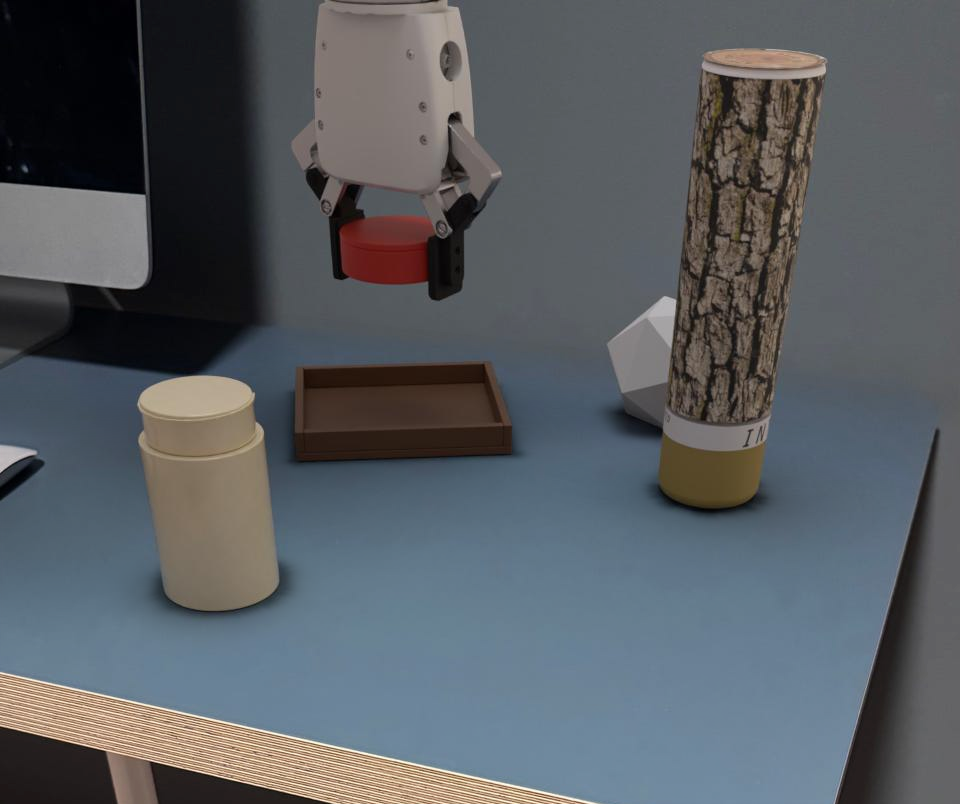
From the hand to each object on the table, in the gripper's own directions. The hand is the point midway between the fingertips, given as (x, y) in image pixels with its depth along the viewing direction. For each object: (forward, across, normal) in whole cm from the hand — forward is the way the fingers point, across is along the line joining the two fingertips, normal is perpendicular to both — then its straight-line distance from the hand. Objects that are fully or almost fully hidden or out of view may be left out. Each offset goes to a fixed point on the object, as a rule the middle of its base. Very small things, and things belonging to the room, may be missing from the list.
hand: (397, 283), depth 87 cm
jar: (+10, -6, +26) cm, 29 cm away
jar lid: (-3, 0, 0) cm, 3 cm away
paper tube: (+10, -24, -2) cm, 26 cm away
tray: (+10, 0, 0) cm, 10 cm away
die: (+10, -16, -12) cm, 22 cm away
